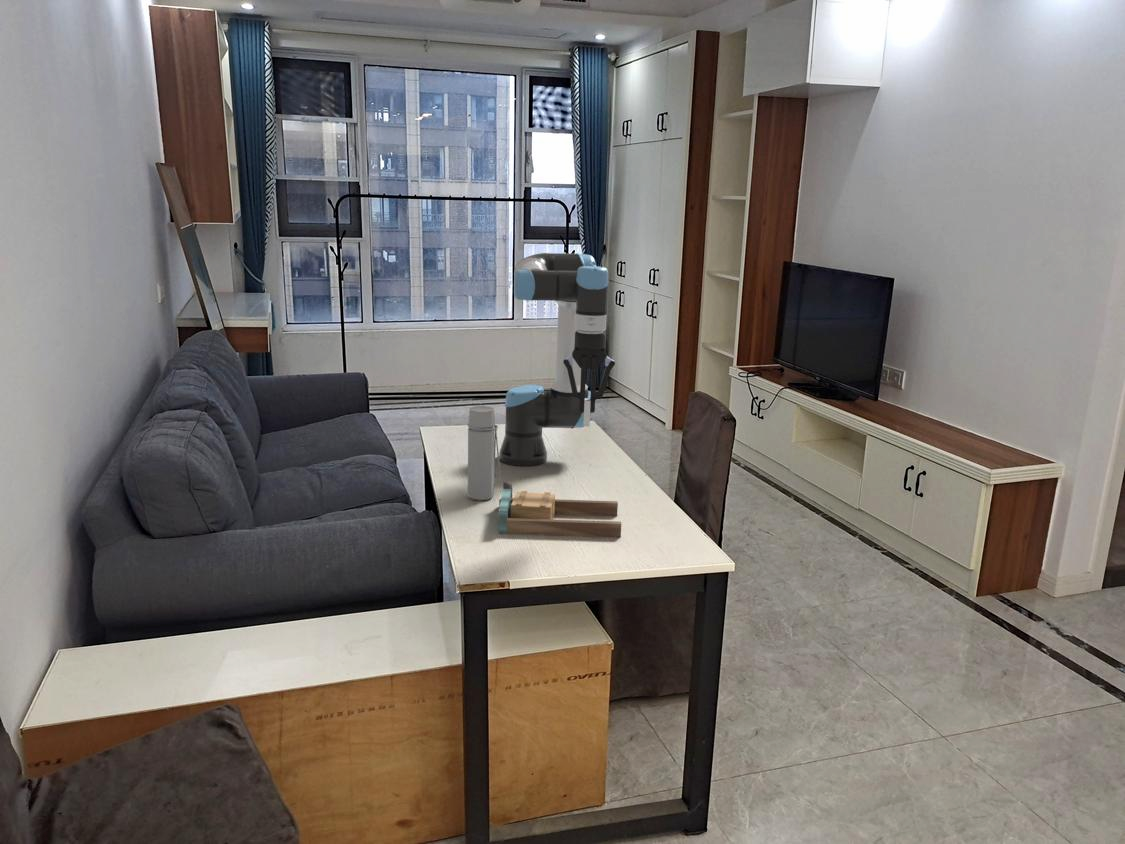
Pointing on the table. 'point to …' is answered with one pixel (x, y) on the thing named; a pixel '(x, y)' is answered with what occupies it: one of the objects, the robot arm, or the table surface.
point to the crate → (533, 505)
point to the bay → (560, 526)
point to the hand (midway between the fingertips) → (586, 424)
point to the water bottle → (481, 453)
